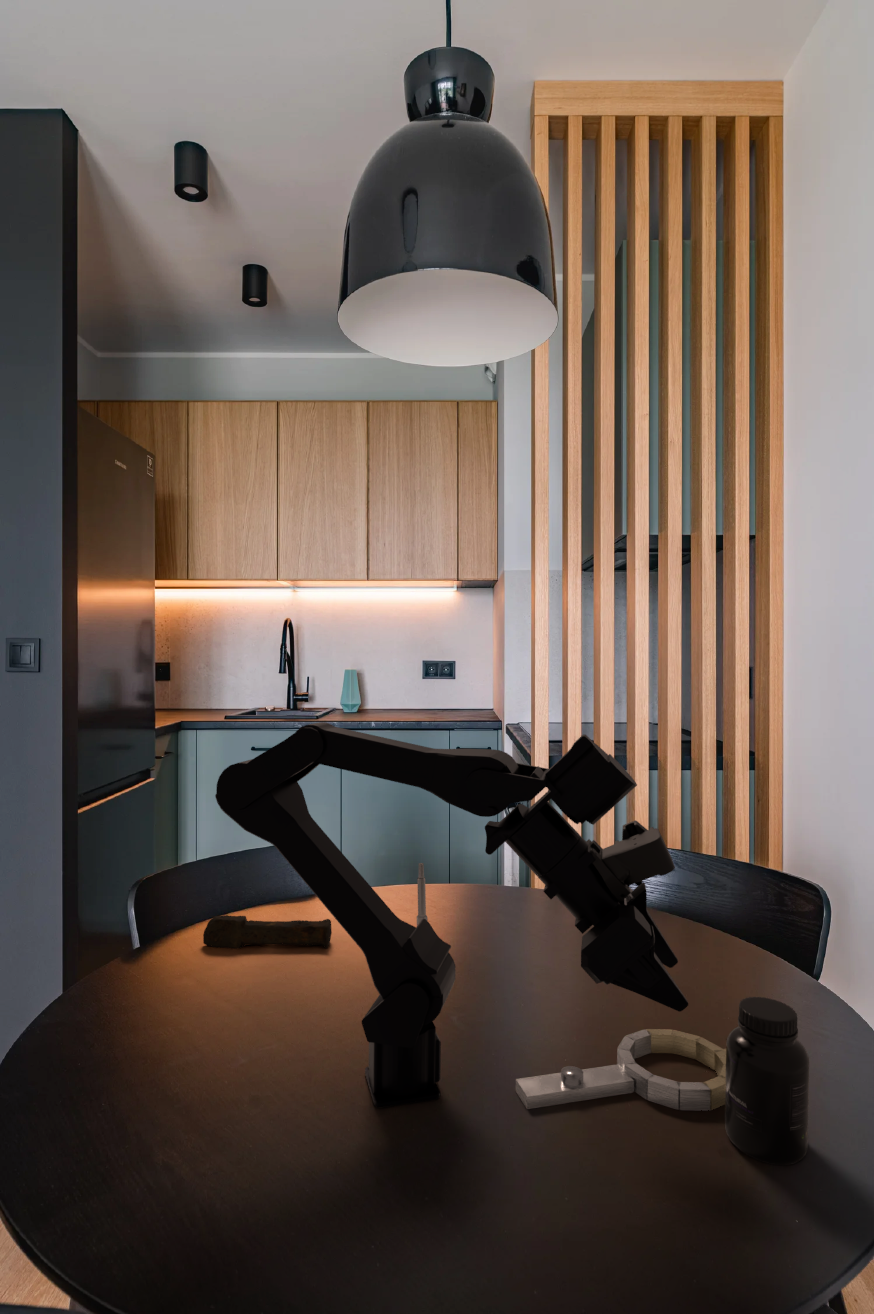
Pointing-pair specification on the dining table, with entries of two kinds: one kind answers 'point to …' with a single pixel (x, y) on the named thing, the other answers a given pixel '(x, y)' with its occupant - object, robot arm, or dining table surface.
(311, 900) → the dining table surface
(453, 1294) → the dining table surface
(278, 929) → the hand tool
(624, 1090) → the segmented ring handle
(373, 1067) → the robot arm
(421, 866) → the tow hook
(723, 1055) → the ring with knobbed tab
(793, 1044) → the supplement bottle
